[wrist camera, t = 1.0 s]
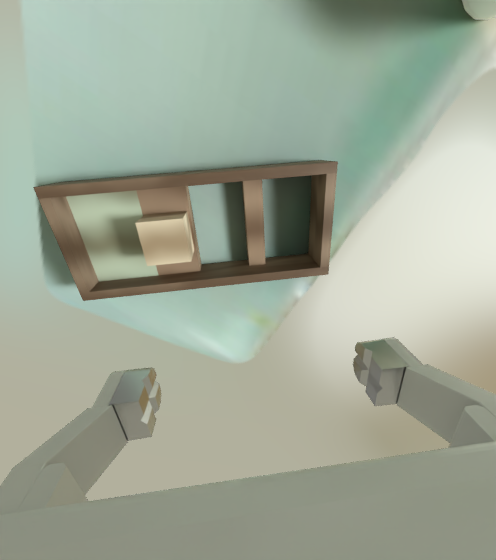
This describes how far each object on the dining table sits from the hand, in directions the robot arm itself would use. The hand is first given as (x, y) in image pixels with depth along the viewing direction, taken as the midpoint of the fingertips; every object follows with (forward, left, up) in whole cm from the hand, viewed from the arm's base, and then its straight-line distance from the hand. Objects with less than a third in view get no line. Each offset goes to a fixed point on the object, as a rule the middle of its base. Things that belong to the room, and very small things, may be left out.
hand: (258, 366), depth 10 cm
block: (0, -7, -21) cm, 22 cm away
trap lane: (0, -4, -23) cm, 23 cm away
